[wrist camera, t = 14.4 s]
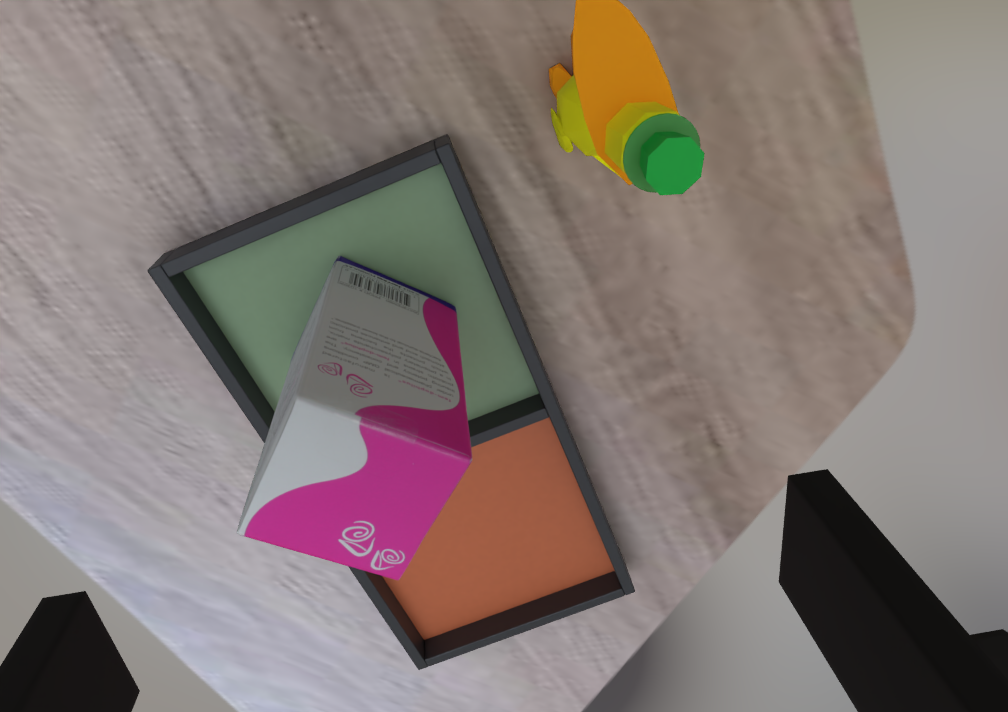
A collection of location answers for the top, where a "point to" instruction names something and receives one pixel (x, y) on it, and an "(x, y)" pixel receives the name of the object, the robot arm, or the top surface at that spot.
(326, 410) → the supplement box
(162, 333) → the top surface
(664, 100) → the toy figure
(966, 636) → the robot arm
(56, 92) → the top surface
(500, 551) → the tray
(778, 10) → the top surface
